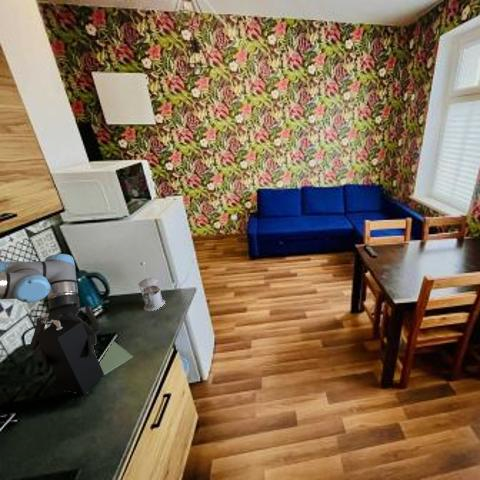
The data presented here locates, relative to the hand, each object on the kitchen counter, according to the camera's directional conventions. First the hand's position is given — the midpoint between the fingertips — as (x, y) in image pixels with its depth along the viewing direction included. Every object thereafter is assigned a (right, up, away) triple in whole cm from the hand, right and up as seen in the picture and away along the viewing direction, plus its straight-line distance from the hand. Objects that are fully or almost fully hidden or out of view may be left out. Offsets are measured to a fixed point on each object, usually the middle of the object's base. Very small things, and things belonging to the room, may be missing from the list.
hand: (70, 362), depth 86 cm
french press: (-5, +6, +51) cm, 51 cm away
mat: (-7, -8, +17) cm, 20 cm away
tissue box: (-2, -11, +7) cm, 14 cm away
